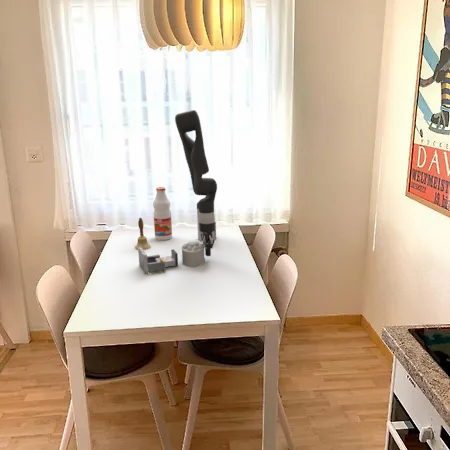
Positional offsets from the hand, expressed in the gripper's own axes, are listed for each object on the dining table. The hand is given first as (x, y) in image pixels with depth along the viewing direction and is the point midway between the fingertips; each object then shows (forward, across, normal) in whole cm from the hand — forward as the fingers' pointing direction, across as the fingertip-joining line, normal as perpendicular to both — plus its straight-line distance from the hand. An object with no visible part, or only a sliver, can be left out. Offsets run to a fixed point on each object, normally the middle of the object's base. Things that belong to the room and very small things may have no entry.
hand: (208, 255), depth 237 cm
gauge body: (+2, 0, +27) cm, 27 cm away
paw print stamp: (+2, 0, +7) cm, 8 cm away
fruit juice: (+2, +42, +11) cm, 44 cm away
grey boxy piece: (+2, -2, +20) cm, 21 cm away
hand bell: (+2, +32, +25) cm, 40 cm away
